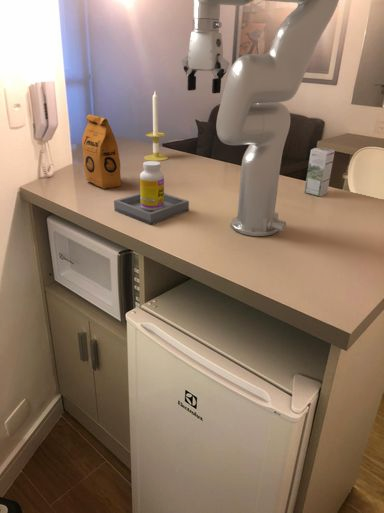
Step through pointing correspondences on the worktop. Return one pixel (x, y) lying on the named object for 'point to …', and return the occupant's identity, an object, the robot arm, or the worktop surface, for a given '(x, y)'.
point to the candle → (155, 134)
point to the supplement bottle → (152, 186)
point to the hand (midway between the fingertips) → (203, 91)
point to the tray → (134, 210)
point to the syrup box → (319, 171)
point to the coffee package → (100, 153)
